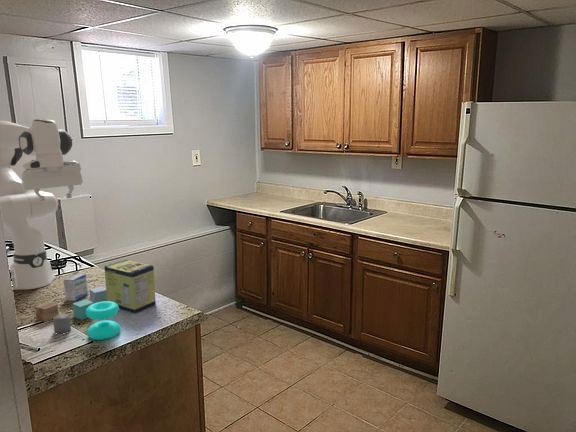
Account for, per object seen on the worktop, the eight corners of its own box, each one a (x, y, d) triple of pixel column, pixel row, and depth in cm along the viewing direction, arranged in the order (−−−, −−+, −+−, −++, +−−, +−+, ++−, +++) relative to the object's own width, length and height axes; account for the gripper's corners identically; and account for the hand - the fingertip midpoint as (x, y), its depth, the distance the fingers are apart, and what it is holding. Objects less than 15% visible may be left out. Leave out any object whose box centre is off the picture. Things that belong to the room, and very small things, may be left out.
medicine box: (75, 301, 178) (73, 280, 176) (65, 300, 179) (63, 279, 177) (88, 294, 185) (86, 273, 184) (78, 293, 186) (76, 273, 184)
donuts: (87, 301, 152) (119, 298, 155) (89, 329, 154) (121, 326, 156) (83, 313, 142) (117, 310, 145) (85, 343, 144) (119, 339, 147)
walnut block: (36, 320, 161) (34, 306, 160) (49, 314, 165) (47, 301, 164) (45, 322, 159) (44, 309, 158) (58, 317, 163) (57, 304, 162)
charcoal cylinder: (51, 332, 152) (49, 317, 151) (66, 326, 156) (64, 312, 155) (59, 336, 149) (57, 321, 148) (74, 330, 153) (72, 316, 152)
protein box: (128, 296, 183) (125, 259, 180) (156, 304, 176) (154, 265, 172) (106, 305, 174) (103, 266, 171) (135, 314, 167) (132, 273, 164)
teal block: (73, 316, 164) (72, 303, 163) (86, 312, 168) (85, 299, 167) (81, 320, 161) (80, 306, 160) (94, 315, 165) (93, 302, 164)
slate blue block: (90, 301, 178) (89, 289, 177) (103, 298, 181) (102, 286, 180) (95, 305, 174) (94, 292, 173) (108, 301, 178) (107, 289, 177)
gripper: (77, 161, 180) (82, 196, 182) (18, 165, 167) (24, 202, 169) (82, 160, 175) (87, 196, 177) (21, 164, 162) (28, 203, 164)
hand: (56, 199), depth 173 cm, fingers open, 8 cm apart
